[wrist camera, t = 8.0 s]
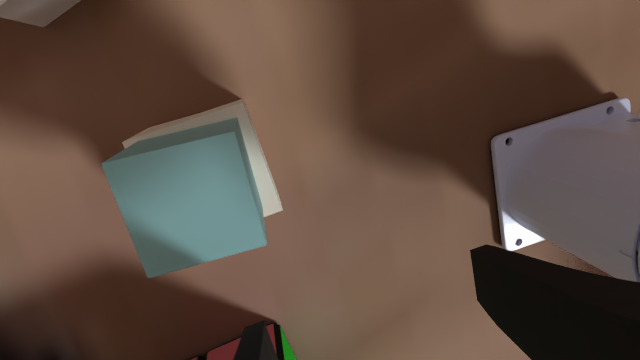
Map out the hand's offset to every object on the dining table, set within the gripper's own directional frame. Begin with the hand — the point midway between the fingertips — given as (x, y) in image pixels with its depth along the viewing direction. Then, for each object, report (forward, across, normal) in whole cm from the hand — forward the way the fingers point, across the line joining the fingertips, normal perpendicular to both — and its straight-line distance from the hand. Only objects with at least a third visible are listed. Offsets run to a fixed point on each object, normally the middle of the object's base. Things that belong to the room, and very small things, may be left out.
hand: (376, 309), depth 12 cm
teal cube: (+6, +5, -5) cm, 9 cm away
